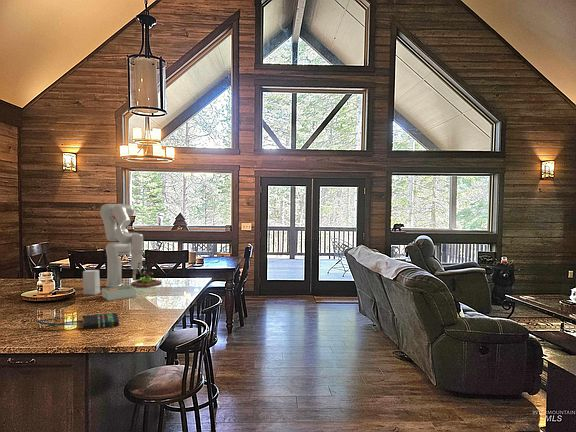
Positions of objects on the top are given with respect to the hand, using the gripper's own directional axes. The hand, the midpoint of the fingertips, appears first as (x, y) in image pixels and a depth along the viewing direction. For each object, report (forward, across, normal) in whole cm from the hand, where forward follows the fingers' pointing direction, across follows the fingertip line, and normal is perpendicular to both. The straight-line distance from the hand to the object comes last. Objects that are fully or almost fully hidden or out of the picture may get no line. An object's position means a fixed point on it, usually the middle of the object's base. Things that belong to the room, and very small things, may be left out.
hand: (136, 278), depth 278 cm
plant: (+11, -20, +14) cm, 27 cm away
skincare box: (+10, -11, -26) cm, 30 cm away
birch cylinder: (+1, 0, 0) cm, 1 cm away
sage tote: (+9, +9, -14) cm, 19 cm away
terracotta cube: (+9, +9, -18) cm, 22 cm away
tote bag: (+8, +61, -47) cm, 77 cm away
